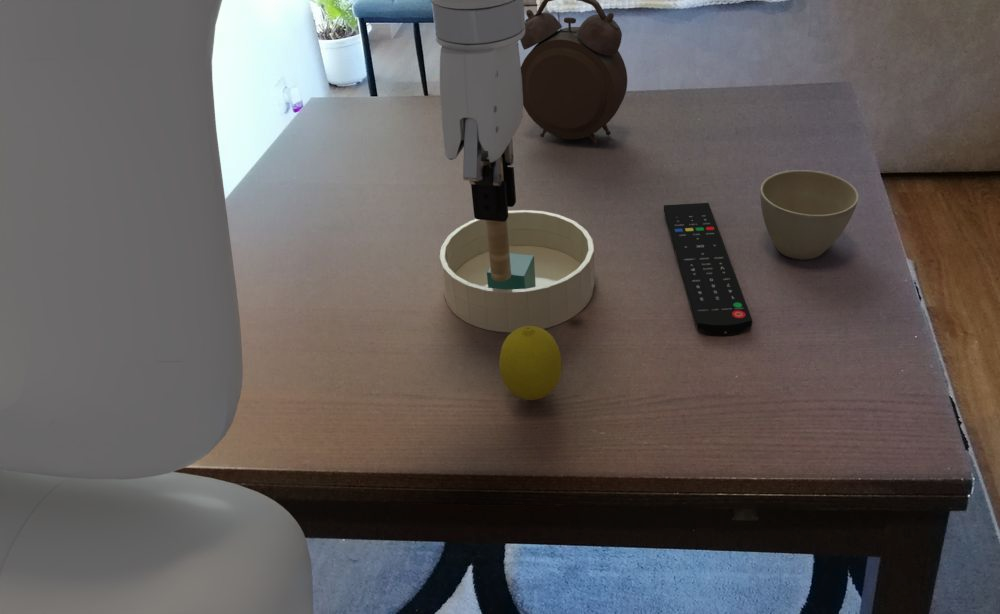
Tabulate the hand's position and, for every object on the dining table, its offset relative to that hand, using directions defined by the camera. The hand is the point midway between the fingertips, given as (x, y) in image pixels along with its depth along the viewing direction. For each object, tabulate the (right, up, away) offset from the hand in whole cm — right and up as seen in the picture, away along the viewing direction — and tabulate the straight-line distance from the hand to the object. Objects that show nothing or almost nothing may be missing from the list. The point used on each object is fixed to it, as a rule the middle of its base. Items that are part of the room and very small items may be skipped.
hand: (495, 210), depth 83 cm
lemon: (+3, -18, -2) cm, 18 cm away
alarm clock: (+11, +15, +42) cm, 46 cm away
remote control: (+23, -5, +13) cm, 26 cm away
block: (+2, -8, +10) cm, 13 cm away
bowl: (+2, -7, +12) cm, 14 cm away
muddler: (+1, -6, +4) cm, 8 cm away
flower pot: (+34, -3, +15) cm, 37 cm away
